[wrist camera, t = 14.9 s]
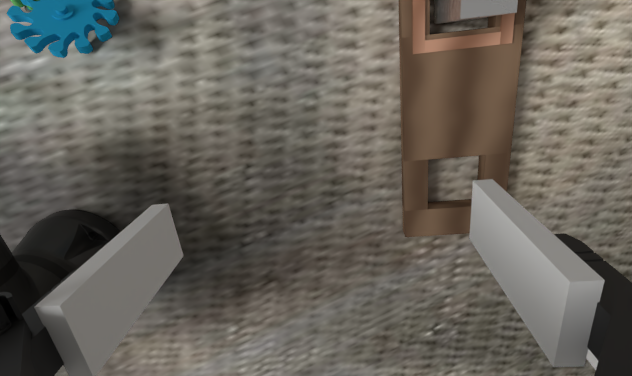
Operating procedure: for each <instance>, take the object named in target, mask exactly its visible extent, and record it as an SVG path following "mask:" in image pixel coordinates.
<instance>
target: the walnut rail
mask: <svg viewBox="0 0 632 376" xmlns="http://www.w3.org/2000/svg"><path fill="white" fill-rule="evenodd" d="M525 8H526V0H518V5H517V13H511V14H504V15H498V16H492V17H488V28H482V29H473V30H465V31H456V32H447V33H439V34H430V0H399V43H400V98H401V152H402V206H403V231H404V234H405V237H415V236H432V235H448V234H464V233H470V220H471V204H472V199H469V200H455V201H441V202H428V160H429V159H441V158H453V157H465V156H477V155H479V165H478V180H487V179H493V180H494V181H495V182H496V183H497V184H498V185H500V186H501V187H502V188H503V189H504V190H505V191H506V192H507V185H508V175H509V166H510V156H511V146H512V136H513V126H514V116H515V106H516V97H517V87H518V77H519V67H520V57H521V47H522V38H523V28H524V18H525Z"/></svg>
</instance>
